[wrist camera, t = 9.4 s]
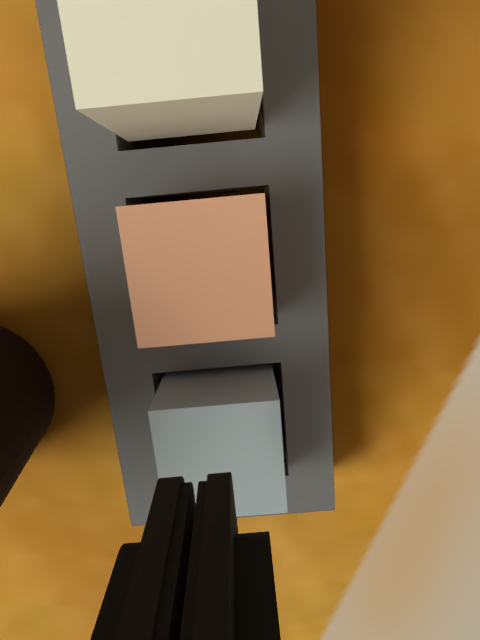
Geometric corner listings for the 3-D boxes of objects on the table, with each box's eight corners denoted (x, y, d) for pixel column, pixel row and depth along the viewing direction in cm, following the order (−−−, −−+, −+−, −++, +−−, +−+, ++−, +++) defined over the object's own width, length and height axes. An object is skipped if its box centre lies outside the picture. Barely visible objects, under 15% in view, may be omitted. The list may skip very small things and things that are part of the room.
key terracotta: (149, 207, 16) (115, 206, 11) (257, 197, 16) (264, 192, 11) (164, 311, 17) (137, 348, 12) (265, 302, 17) (275, 336, 12)
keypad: (16, -277, 12) (-38, -394, 10) (287, -309, 12) (299, -434, 10) (144, 485, 19) (131, 525, 17) (322, 471, 19) (335, 510, 17)
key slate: (170, 359, 17) (147, 411, 13) (268, 351, 17) (279, 400, 13) (182, 447, 18) (165, 522, 14) (275, 439, 18) (287, 512, 14)
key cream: (107, -6, 12) (36, -121, 8) (243, -20, 12) (247, -144, 8) (128, 141, 13) (75, 109, 9) (254, 129, 13) (263, 91, 9)
